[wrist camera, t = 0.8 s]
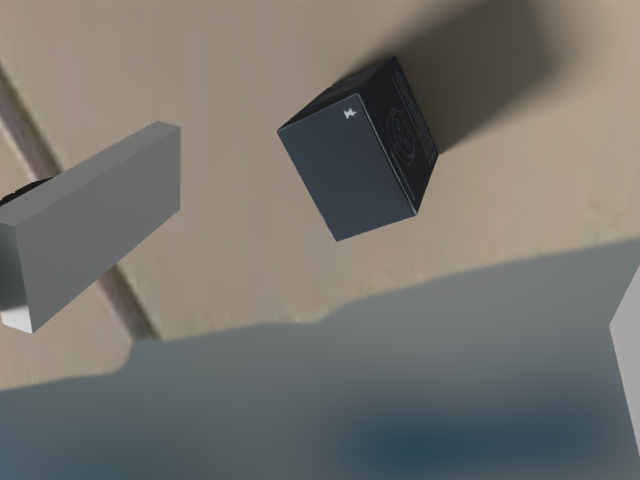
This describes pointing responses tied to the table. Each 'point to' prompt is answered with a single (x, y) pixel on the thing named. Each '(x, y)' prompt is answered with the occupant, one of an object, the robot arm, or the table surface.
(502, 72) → the table surface
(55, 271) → the robot arm
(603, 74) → the table surface
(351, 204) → the box
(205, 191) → the table surface
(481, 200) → the table surface
